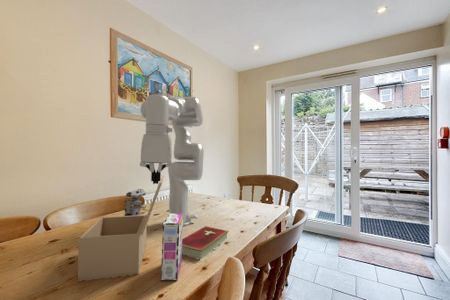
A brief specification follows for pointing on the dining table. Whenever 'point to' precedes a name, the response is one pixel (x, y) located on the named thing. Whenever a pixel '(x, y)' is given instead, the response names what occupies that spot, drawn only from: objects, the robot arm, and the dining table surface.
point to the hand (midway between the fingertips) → (155, 183)
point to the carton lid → (152, 205)
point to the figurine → (134, 202)
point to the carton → (112, 248)
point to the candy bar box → (172, 246)
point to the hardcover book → (202, 241)
